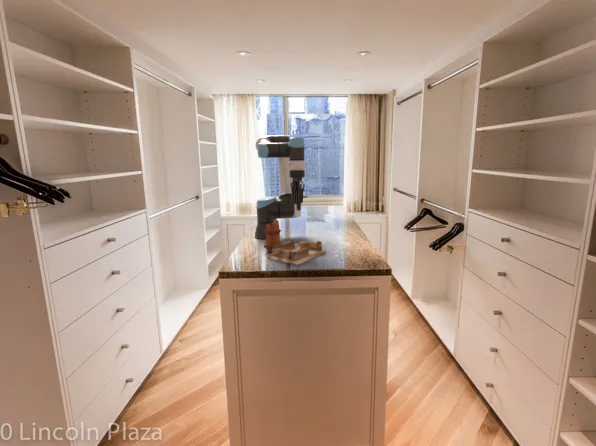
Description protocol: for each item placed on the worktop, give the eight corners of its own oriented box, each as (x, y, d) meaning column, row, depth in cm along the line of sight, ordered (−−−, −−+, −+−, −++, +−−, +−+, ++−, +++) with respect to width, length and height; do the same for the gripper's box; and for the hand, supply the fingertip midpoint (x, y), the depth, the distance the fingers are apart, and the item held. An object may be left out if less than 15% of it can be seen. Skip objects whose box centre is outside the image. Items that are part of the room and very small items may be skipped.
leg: (322, 248, 162) (322, 240, 162) (321, 250, 160) (321, 242, 159) (300, 248, 164) (300, 240, 163) (299, 249, 161) (299, 242, 160)
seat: (267, 258, 154) (266, 247, 152) (296, 246, 172) (296, 236, 171) (297, 265, 143) (297, 253, 142) (325, 251, 162) (325, 241, 161)
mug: (278, 254, 158) (277, 224, 155) (262, 254, 160) (261, 224, 157) (285, 246, 172) (284, 219, 169) (270, 246, 174) (269, 218, 171)
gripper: (285, 169, 165) (286, 215, 169) (295, 170, 153) (296, 219, 158) (298, 169, 168) (299, 213, 172) (309, 169, 156) (309, 217, 161)
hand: (297, 216), depth 165 cm, fingers closed
